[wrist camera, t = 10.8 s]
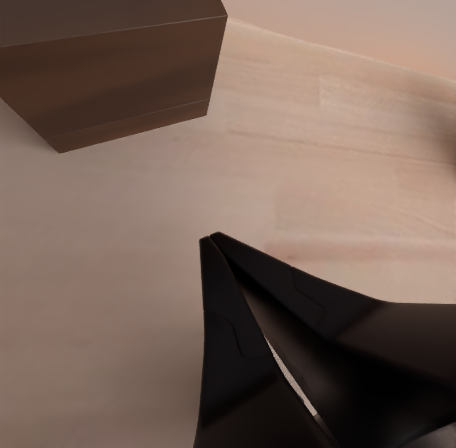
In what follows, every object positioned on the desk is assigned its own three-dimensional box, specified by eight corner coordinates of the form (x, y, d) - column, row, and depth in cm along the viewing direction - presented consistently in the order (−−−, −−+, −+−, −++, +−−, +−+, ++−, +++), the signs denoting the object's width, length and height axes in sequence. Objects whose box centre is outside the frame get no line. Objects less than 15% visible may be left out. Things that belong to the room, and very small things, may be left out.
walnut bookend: (206, 115, 24) (228, 15, 14) (59, 153, 20) (-48, 53, 10) (162, 15, 24) (155, -144, 15) (13, 34, 21) (-127, -162, 11)
